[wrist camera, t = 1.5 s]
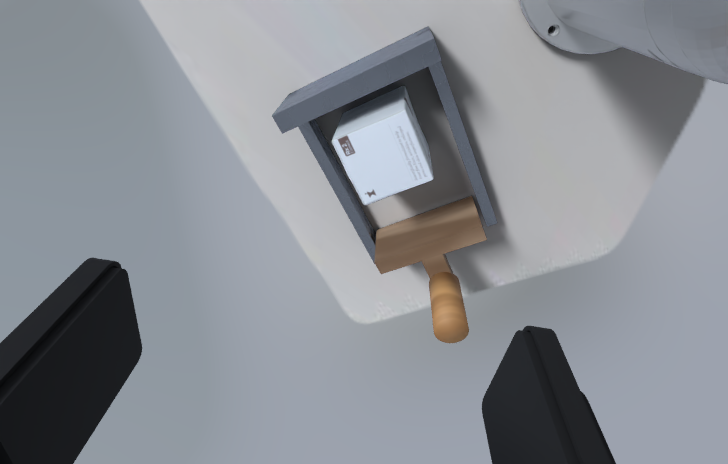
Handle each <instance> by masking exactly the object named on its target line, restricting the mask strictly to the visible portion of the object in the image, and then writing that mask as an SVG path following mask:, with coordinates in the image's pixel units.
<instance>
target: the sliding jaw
mask: <svg viewBox="0 0 728 464" xmlns="http://www.w3.org/2000/svg"><path fill="white" fill-rule="evenodd" d="M485 240H487V238H486V235H485V232H484V229H483V226H482V223H481V220H480V217H479V214H478V211H477V208H476V205H475V203H474V200H473V197H472V196H470V197H467V198H464V199H462V200H459V201H456V202H453V203H450V204H448V205H445V206H442V207H439V208H436V209H434V210H431V211H428V212H425V213H423V214H420V215H417V216H414V217H411V218H409V219H406V220H403V221H400V222H397V223H395V224H392V225H389V226H386V227H383V228H381V229H378V230H377V232H376V246H375V261H374V262H375V264H376V266H377V268H378V270H379V271H380V273H381V274H383V273H386V272H389V271H393V270H396V269H399V268H402V267H405V266H408V265H411V264H414V263H417V262H420V261H422V263H423V265H424V267H425V269H426V271H427V273H428V275H429V278H430V281H429V289H430V299H431V308H432V318H433V328H434V334H435V336H436V338H437V339H439V340H440V341H442V342H445V343H456V342H459V341H462V340H463V339H465V338H466V336H467V335H468V332H469V328H468V323H467V318H466V313H465V308H464V303H463V298H462V293H461V288H460V283H459V279H458V277H457V276H456V275H454V274H453V271H452V269H451V267H450V265H449V262H448V260H447V258H446V256H445V253H448V252H451V251H454V250H457V249H460V248H463V247H466V246H469V245H472V244H475V243H479V242H482V241H485Z"/></svg>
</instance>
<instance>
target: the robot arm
mask: <svg viewBox="0 0 728 464" xmlns="http://www.w3.org/2000/svg"><path fill="white" fill-rule="evenodd" d="M519 3H520V6H521V9H522V12H523V14H524V16H525V17H526V19H527V21H528V23H529V25H530V26H531V27H532V28H533V29H534V31H535V32H536V33H537V34H538V35H539V36H540V37H541V38H543V39H544V40H546V41H547V42H548V43H550V44H551V45H553V46H556V47H558V48H560V49H562V50H565V51H569V52H573V53H576V54H598V53H605V52H610V51H613V50H616V49H619V48H622V47H624V48H626V49H629V50H632V51H634V52H637V53H639V54H642V55H645V56H647V57H650V58H653V59H655V60H658V61H660V62H663V63H666V64H668V65H671V66H673V67H676V68H679V69H681V70H684V71H687V72H689V73H692V74H696V75H699V76H701V77H704V78H707V79H710V80H713V81H717V82H721V83H725V84H728V0H519ZM550 26H553V31H552V32H551V33H549V32H548V29H549V27H550ZM141 352H142V344H141V339H140V334H139V329H138V323H137V319H136V314H135V309H134V303H133V298H132V294H131V288H130V283H129V278H128V273H127V271H126V270H125V269H122V268H121V265H120V264H119V263H118V262H115V261H110V260H102V259H97V258H89V259H87V260H86V261H85V262H84V263H83V264H82V265H80V266H79V268H78V269H76V271H74V272H73V273H72V274H71V275H70V277H68V278H67V279H66V280H65V281H64V282H63V283H62V284H61V285H60V286H59V287H58V288H57V289H56V290H55V291H54V292H53V293H52V294H51V295H50V296H49V297H48V298H47V299H46V300H45V301H43V302H42V303H41V304H40V305H39V306H38V307H37V308H36V309H35V310H34V311H33V312H32V313H31V314H30V315H29V316H28V317H27V318H26V319H25V320H24V321H23V322H22V323H21V324H20V325H19V326H18V327H17V328H16V329H14V330H13V332H11V333H10V334H9V335H8V337H6V338H5V339H4V340H3V341H2V342H1V343H0V464H73V463H74V461H75V460H76V458H77V457H78V455H79V454H80V452H81V450H82V449H83V447H84V446H85V444H86V443H87V441H88V439H89V438H90V436H91V435H92V433H93V432H94V430H95V428H96V427H97V425H98V424H99V422H100V421H101V419H102V417H103V416H104V414H105V413H106V411H107V410H108V408H109V407H110V405H111V403H112V402H113V400H114V399H115V397H116V396H117V394H118V392H119V391H120V389H121V388H122V386H123V385H124V383H125V381H126V380H127V378H128V377H129V375H130V374H131V372H132V370H133V369H134V367H135V366H136V364H137V363H138V361H139V359H140V356H141ZM482 413H483V419H484V424H485V429H486V434H487V439H488V444H489V449H490V454H491V459H492V464H616V463H615V461H614V458H613V456H612V454H611V452H610V449H609V447H608V445H607V443H606V440H605V438H604V436H603V433H602V431H601V429H600V427H599V425H598V422H597V420H596V418H595V415H594V413H593V411H592V409H591V406H590V404H589V402H588V400H587V398H586V397H585V395H584V394H583V393H582V392H581V391H580V389H579V387H578V385H577V382H576V380H575V378H574V376H573V373H572V371H571V368H570V366H569V364H568V362H567V359H566V357H565V355H564V352H563V350H562V348H561V346H560V343H559V341H558V339H557V336H556V334H555V332H554V331H553V330H552V329H547V328H540V327H534V326H526V327H525V328H524V329H523V331H520V330H519V331H517V332H516V333H515V335H514V337H513V339H512V341H511V343H510V345H509V347H508V349H507V351H506V353H505V355H504V357H503V360H502V361H501V363H500V365H499V367H498V369H497V371H496V374H495V375H494V378H493V379H492V381H491V384H490V385H489V388H488V389H487V391H486V393H485V396H484V398H483V402H482Z"/></svg>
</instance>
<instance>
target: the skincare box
mask: <svg viewBox="0 0 728 464" xmlns="http://www.w3.org/2000/svg"><path fill="white" fill-rule="evenodd" d="M332 144H333V146H334V148H335V150H336V152H337V154H338V156H339V158H340V160H341V162H342V164H343V166H344V168H345V171H346V173H347V175H348V177H349V179H350V180H351V182H352V184H353V186H354V187H355V189H356V191H357V193H358V195H359V197H360V199H361V200H362V202H363V204H364V205H369V204H371V203H374V202H376V201H379V200H381V199H384V198H386V197H389V196H391V195H394V194H396V193H399V192H402V191H404V190H407V189H410V188H412V187H415V186H418V185H421V184H423V183H426V182H429V181H431V180H433V179H434V177H433V171H432V164H431V157H430V150H429V145H428V143H427V141H426V139H425V137H424V134H423V132H422V130H421V127H420V125H419V123H418V120H417V118H416V115H415V112H414V110H413V107H412V104H411V101H410V99H409V96H408V93H407V89H406V87H405V86H401V87H399V88H397V89H395V90H392V91H390V92H388V93H386V94H384V95H381V96H379V97H377V98H375V99H373V100H371V101H368V102H366V103H364V104H362V105H360V106H358V107H355V108H353V109H351V110H349V111H347V112H345V113H343V114H342V117H341V119H340V122H339V124H338V127H337V129H336V132H335V134H334V137H333V139H332Z"/></svg>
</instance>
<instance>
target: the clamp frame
mask: <svg viewBox="0 0 728 464" xmlns="http://www.w3.org/2000/svg"><path fill="white" fill-rule="evenodd" d="M441 60H442V59H441V57H440V54H439V51H438V48H437V45H436V42H435V39H434V37H433V35H432V33H431V31H430V29H429V27H426V28H424V29H422V30H420V31H418V32H416V33H414V34H411V35H409V36H407V37H405V38H403V39H401V40H399V41H397V42H395V43H393V44H391V45H389V46H387V47H385V48H383V49H381V50H379V51H377V52H375V53H372V54H370V55H368V56H366V57H364V58H362V59H360V60H358V61H356V62H354V63H352V64H350V65H348V66H346V67H344V68H342V69H340V70H338V71H336V72H333V73H331V74H329V75H327V76H325V77H323V78H321V79H319V80H317V81H315V82H313V83H311V84H309V85H307V86H305V87H303V88H301V89H299V90H297V91H294V92H292V93H290V94H289V95H288V96H287V97H286V99H285V100H284V101H283V102H282V104H281V105H280V106H279V107H278V109H277V110H276V111H275V112H274V114H273V115H272V117H273V118H274V120H275V122H276V124H277V125H278V127H279V129H280V130H281V132H282V133H285V132H287V131H289V130H291V129H293V128H295V127H299V129H300V131H301V132H302V134H303V136H304V138H305V140H306V141H307V143H308V145H309V147H310V149H311V150H312V152H313V154H314V156H315V158H316V159H317V161H318V163H319V165H320V167H321V168H322V170H323V172H324V174H325V176H326V177H327V179H328V181H329V183H330V185H331V186H332V188H333V190H334V192H335V194H336V195H337V197H338V199H339V201H340V203H341V204H342V206H343V208H344V210H345V212H346V213H347V215H348V217H349V219H350V221H351V222H352V224H353V226H354V228H355V230H356V231H357V233H358V235H359V237H360V239H361V240H362V242H363V244H364V246H365V248H366V249H367V251H368V253H369V255H370V256H371V258H372V260H373V262H374V261H375V246H376V234H375V232H374V230H373V228H372V226H371V224H370V222H369V220H368V219H367V217H366V215H365V213H364V211H363V209H362V207H361V205H360V203H359V202H358V200H357V198H356V196H355V194H354V192H353V190H352V188H351V186H350V185H349V183H348V181H347V179H346V177H345V175H344V173H343V171H342V170H341V168H340V166H339V164H338V162H337V160H336V158H335V156H334V154H333V153H332V151H331V149H330V147H329V145H328V143H327V141H326V139H325V137H324V136H323V134H322V132H321V130H320V128H319V126H318V124H317V122H316V120H315V118H317V117H319V116H322V115H324V114H326V113H328V112H330V111H332V110H335V109H337V108H339V107H341V106H343V105H346V104H348V103H350V102H352V101H354V100H356V99H359V98H361V97H363V96H365V95H367V94H369V93H372V92H374V91H376V90H378V89H380V88H383V87H385V86H387V85H389V84H391V83H393V82H396V81H398V80H400V79H402V78H404V77H406V76H409V75H411V74H413V73H415V72H417V71H420V70H422V69H424V68H426V67H429V69H430V72H431V75H432V78H433V80H434V83H435V86H436V89H437V91H438V94H439V97H440V99H441V102H442V105H443V108H444V110H445V113H446V116H447V119H448V121H449V124H450V127H451V129H452V132H453V135H454V138H455V140H456V143H457V146H458V149H459V151H460V154H461V157H462V160H463V162H464V165H465V168H466V170H467V173H468V176H469V179H470V181H471V184H472V187H473V190H474V192H475V195H476V198H477V200H478V203H479V206H480V209H481V211H482V214H483V217H484V220H485V222H486V225H487V226H490V225H493V224H496V223H497V220H496V217H495V214H494V212H493V209H492V206H491V203H490V200H489V197H488V194H487V192H486V189H485V186H484V183H483V180H482V177H481V174H480V172H479V169H478V166H477V163H476V160H475V157H474V154H473V152H472V149H471V146H470V143H469V140H468V137H467V134H466V132H465V129H464V126H463V123H462V120H461V117H460V114H459V112H458V109H457V106H456V103H455V100H454V97H453V94H452V91H451V89H450V86H449V83H448V80H447V77H446V74H445V71H444V69H443V66H442V63H441ZM374 264H375V262H374Z"/></svg>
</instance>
